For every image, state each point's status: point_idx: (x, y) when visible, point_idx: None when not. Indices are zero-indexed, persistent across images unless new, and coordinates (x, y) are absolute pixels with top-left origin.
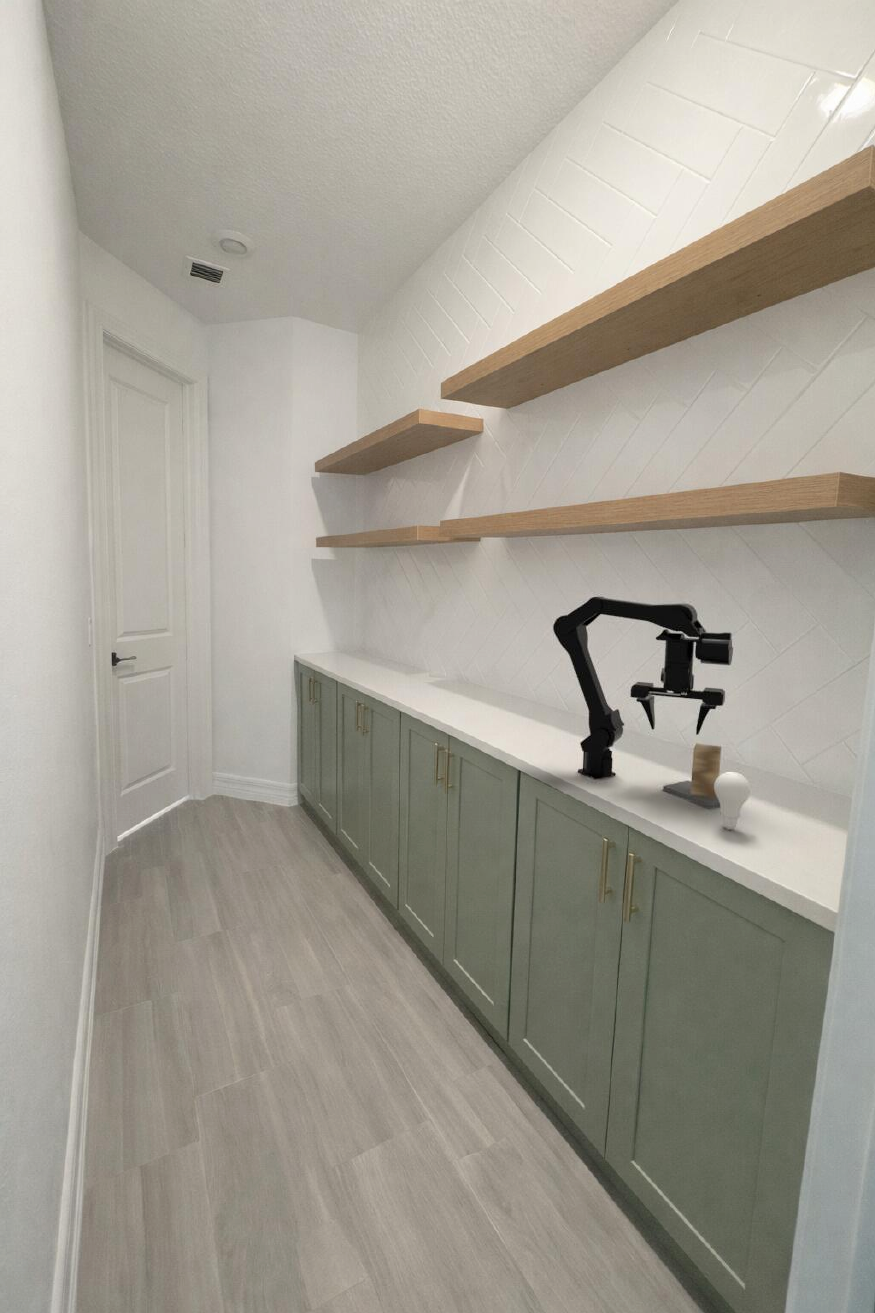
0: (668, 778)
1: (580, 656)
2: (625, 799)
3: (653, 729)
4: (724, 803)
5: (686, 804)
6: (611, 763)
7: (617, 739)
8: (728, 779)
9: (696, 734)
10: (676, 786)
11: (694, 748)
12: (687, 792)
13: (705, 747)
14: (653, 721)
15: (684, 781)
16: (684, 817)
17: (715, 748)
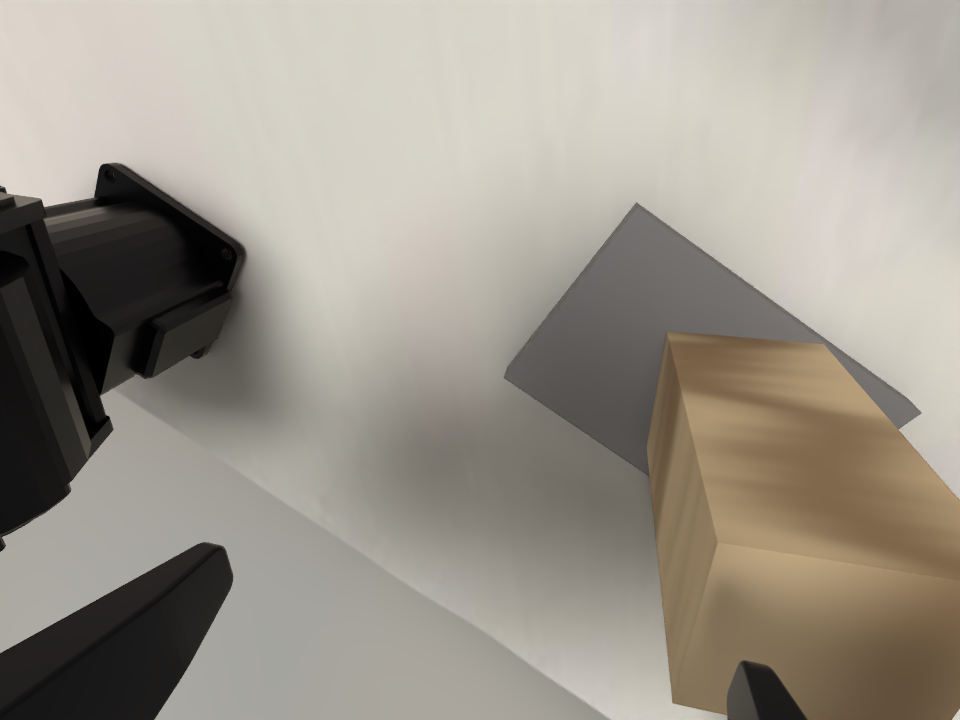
0: (509, 125)
1: None
2: (389, 519)
3: (232, 577)
4: None
5: (626, 499)
6: (184, 327)
7: (52, 371)
8: None
9: (729, 701)
10: (570, 359)
11: (680, 695)
12: (631, 428)
13: (803, 653)
14: (160, 689)
15: (615, 245)
16: (617, 614)
17: (919, 666)
